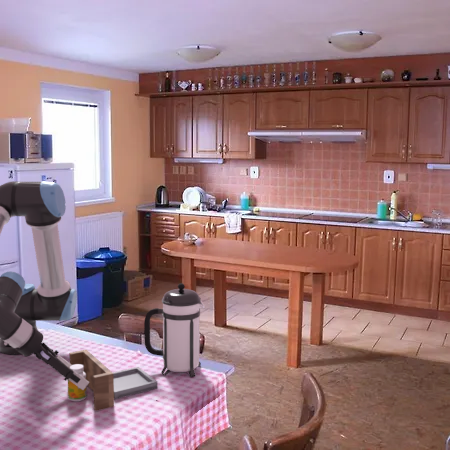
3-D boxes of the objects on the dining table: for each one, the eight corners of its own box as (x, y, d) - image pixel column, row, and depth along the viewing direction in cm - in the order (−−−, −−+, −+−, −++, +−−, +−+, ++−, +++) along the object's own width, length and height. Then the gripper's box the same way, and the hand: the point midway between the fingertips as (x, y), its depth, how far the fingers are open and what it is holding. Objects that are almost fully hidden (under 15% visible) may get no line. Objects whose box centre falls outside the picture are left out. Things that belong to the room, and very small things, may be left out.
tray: (97, 382, 177) (97, 375, 177) (138, 373, 185) (138, 366, 185) (114, 399, 166) (114, 392, 166) (157, 388, 173) (157, 381, 173)
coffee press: (188, 357, 199) (188, 275, 195) (211, 373, 185) (212, 285, 181) (143, 367, 190) (142, 281, 185) (164, 384, 176) (164, 292, 172)
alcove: (70, 383, 177) (69, 352, 175) (87, 379, 180) (86, 349, 178) (95, 411, 158) (94, 377, 157) (114, 406, 161) (113, 373, 160)
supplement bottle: (64, 397, 167) (63, 366, 165) (80, 392, 170) (79, 361, 169) (74, 403, 163) (73, 371, 162) (90, 397, 167) (89, 366, 165)
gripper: (4, 335, 165) (57, 373, 175) (25, 363, 144) (83, 404, 154) (22, 315, 167) (73, 354, 177) (45, 339, 146) (101, 382, 156)
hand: (78, 377), depth 166 cm, fingers open, 13 cm apart
